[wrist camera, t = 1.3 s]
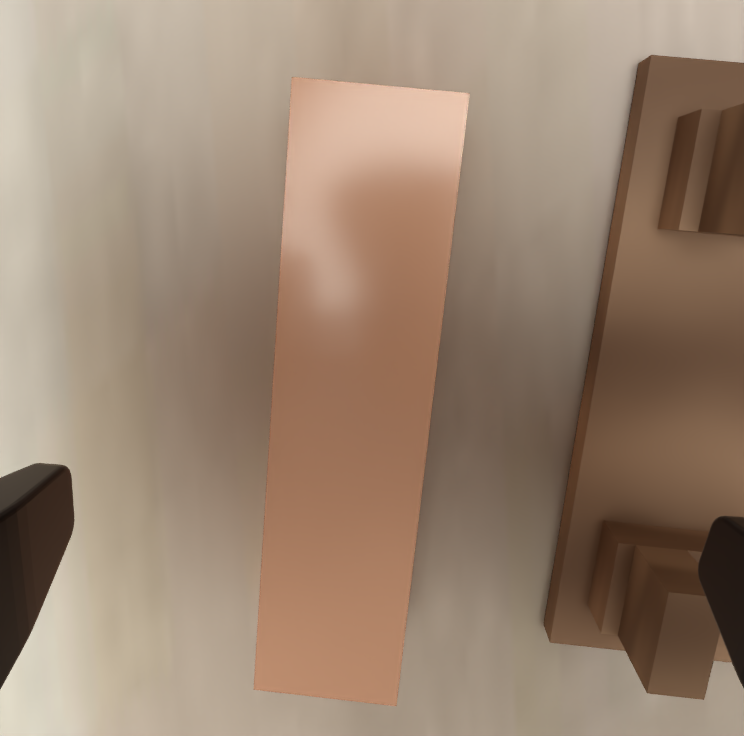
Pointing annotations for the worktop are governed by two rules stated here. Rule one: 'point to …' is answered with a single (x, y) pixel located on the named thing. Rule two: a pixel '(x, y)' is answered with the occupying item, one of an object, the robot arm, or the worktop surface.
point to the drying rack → (661, 386)
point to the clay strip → (353, 380)
